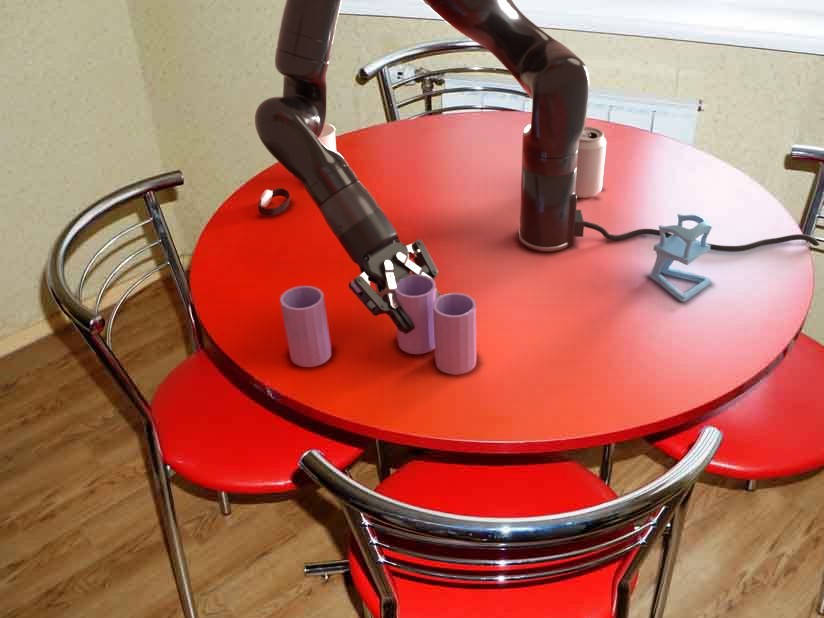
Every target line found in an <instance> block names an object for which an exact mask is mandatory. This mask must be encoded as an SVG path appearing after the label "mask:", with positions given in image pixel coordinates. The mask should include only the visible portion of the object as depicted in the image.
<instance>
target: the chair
mask: <svg viewBox="0 0 824 618" xmlns="http://www.w3.org/2000/svg"><path fill="white" fill-rule="evenodd" d="M677 220H678V221H677V224H674V225H673V224H672V225H661V224H660V225H658V230H660V235H661V236H660V240H659V242H657V243H655V244H654V245H653V249H652V251H654V252H655V254H656V259H655V262H654V265H653V267H652V270H651V272H650V275H649V276H650V278H651V279H652V280H653V281H654V282H656V283H658V284H659V286H662V287H663V288H664V289H665V290H666V291H667V292H668V293H670V294H671V295H672V296H673V297H674V298H676V299H677V300H678V301H680V302H682V303H684V302H686V301H688V300H689V299H690V298H692V297H693V296H695V295H696V294H698V293H699V292H700V291H702V290H703V289H704V288H706V287H707V286H709V285H710V282H711V278H709V277H707V276H704V275H701V274H697V273H693V272H688V271H684V270H681V269H676V268H672V267H671V265H672V264H673V263H674V262H675V261H676V262H679V263H681V264H683V265H684V266H685V265H686V266H688V265H690V264H692V262H694V261H695V260H696V259H698V258H699V257H701V256H702V255H706V253H708V252H710V251H711V250H710V247H711V245H708V244H709V243H708V244H706V243H707V238H708V236H709V235H710V232H711V231H712V229H713V226H712V225H711V223H709V222H708V220H706V218H704V217H702V216H701V215H699V214H682V213H681V214H680V213H678V214H677ZM685 221H686V222H687V221H689V222H690V221H691V222H695V223H697V224H696V225H695V226H694V227H692V228H686V227H684V226H683V222H685ZM664 233H671V234H672V235H671V236H669V237H668V238H666V237H665V234H664ZM700 236H701V238H700V240H697V239H698V238H699V237H700ZM662 274H663V275H662ZM664 275H667V276H672V277H675V278H680V279H684V280H688V281H689V280H690V281H694V282H698V284H697V285H695V286H694V287H692V288H691V289H689V290H687V292H685V293H682V292H681V291H680V290H679V289H678V288H677V287H676V286H674V285H673V284H672V283H671V282H670V281H669V280H668V279H666V278H665V277H664Z"/></svg>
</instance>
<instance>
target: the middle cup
mask: <svg viewBox="0 0 824 618" xmlns="http://www.w3.org/2000/svg"><path fill="white" fill-rule="evenodd" d="M396 287H397V290H395V294H396V298H397V300H398V307H400V306H401V307H402V309H403V310H404V311H405V313H406V314H407V315H408V317H409V318H410V320H411V321H412V323H413V324H414V326H415V329H414V330H412V331H411V332H409V333H408V334H405V333H403V332H401V331H399V330H398V328H397V327H396V335H397V336H396V338H397V345H398V347H399V348H400V350H402V351H403V352H405V353H407V354H412V355H422V354H428V353H430V352H432V351H434V350H435V342H434V320H433V302H434V301H435V300H436V289H437V283H436V281H435V279H434V280H433V279H432V278H430V277H428V276H425V275H421V274H419V275H416V274H411V275H409V276H407V277H405V278H402V279H401V280H400V281H399V282H398V283H396Z"/></svg>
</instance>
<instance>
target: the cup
mask: <svg viewBox="0 0 824 618" xmlns="http://www.w3.org/2000/svg"><path fill="white" fill-rule="evenodd" d="M440 295H441V296H440V297H438V298H436V300H435V301H434V302H433V320H434V342H435V348H434V360H435V366H436V367H437V369H438V370H439V371H441V372H442V373H445V374H448V375H454V376H456V375H463V374H466V373H469V372H470V371H472V370H473V369H475V367H476V366H477V302H476V300H475V299H474V298H473V297H472V296H470V295H468V294H466V293H461V292H448V293H444V294H440Z"/></svg>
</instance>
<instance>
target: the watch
mask: <svg viewBox="0 0 824 618" xmlns="http://www.w3.org/2000/svg"><path fill="white" fill-rule="evenodd" d="M275 197H284V198H286V199H287V200H285V201H284V202H283V203H281V204H280V205H278V206H276V207H272V208H267V206H268V205H269V204H270V203H271V200H272V199H273V198H275ZM290 197H291V194H290V192H289V191H288V190H287V189H285V188H280V187H279V188H275V189H273V190H270V189H266V190H264V191H263V193H262V194H261V197H260V200H259V201H258V207H257V208H258V213H259V214H260V215H263V216H264V217H265V216H266V217H272V216H277V215H279V214H281V213H283V212H285V211H286V210H287V208H288V207H289V205H290Z"/></svg>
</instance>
